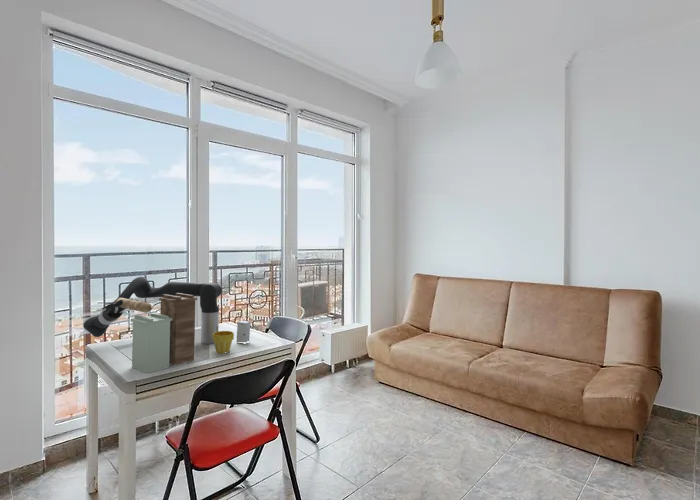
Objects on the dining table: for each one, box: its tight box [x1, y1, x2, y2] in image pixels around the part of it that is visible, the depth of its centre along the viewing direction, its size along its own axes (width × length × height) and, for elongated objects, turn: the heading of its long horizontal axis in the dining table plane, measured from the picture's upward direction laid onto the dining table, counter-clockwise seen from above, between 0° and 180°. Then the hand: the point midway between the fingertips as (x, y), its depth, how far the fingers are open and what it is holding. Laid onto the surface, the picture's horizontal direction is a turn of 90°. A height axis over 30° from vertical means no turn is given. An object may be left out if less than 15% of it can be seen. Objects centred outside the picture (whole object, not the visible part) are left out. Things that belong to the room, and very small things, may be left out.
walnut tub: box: [158, 293, 198, 366], centre depth 182 cm, size 12×12×31 cm
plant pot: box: [213, 330, 235, 354], centre depth 198 cm, size 10×10×10 cm
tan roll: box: [115, 297, 153, 314], centre depth 178 cm, size 22×4×4 cm, turn 59°
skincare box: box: [236, 320, 251, 342], centre depth 215 cm, size 6×4×12 cm
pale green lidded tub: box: [130, 312, 172, 374], centre depth 171 cm, size 12×12×23 cm
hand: (127, 300), depth 181 cm, fingers closed on tan roll, 4 cm apart
